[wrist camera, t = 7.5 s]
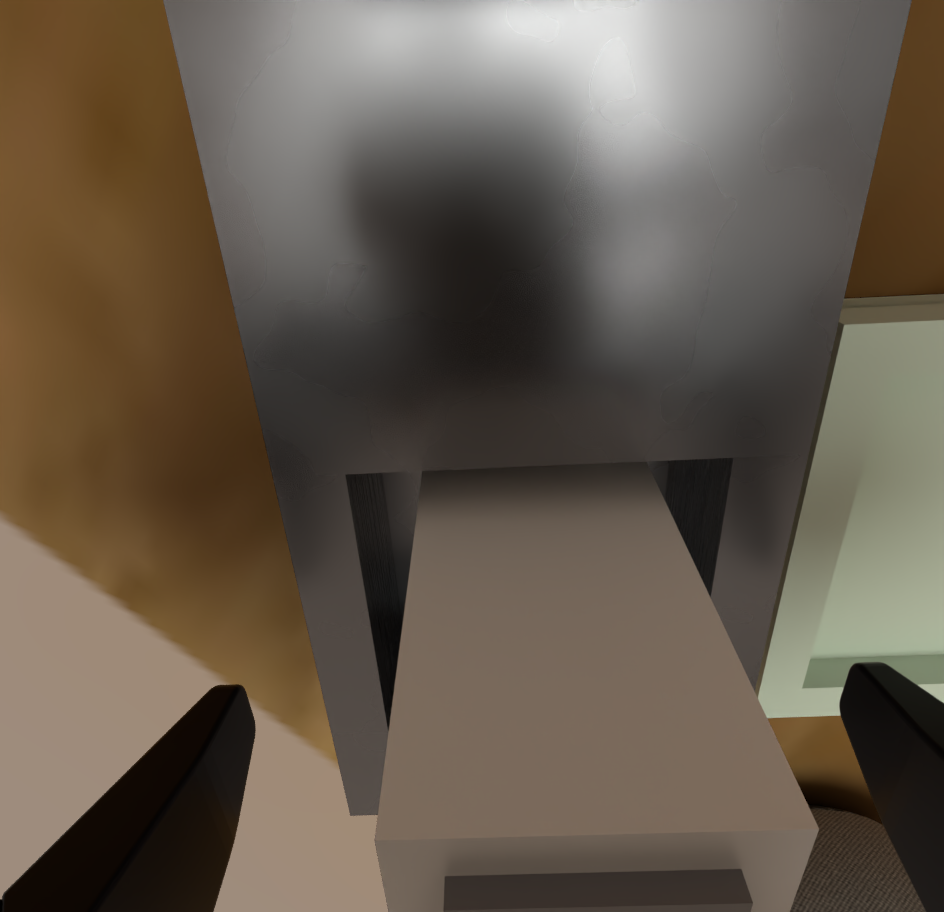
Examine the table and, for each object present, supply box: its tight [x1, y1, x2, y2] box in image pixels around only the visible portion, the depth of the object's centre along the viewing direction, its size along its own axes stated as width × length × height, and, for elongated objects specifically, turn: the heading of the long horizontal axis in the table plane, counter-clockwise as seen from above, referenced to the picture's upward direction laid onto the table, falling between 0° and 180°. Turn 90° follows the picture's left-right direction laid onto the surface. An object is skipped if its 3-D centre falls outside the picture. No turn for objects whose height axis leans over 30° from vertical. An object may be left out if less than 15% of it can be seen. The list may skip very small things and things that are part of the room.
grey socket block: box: [163, 0, 912, 816], centre depth 9 cm, size 20×8×7 cm, turn 3°
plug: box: [375, 462, 819, 912], centre depth 10 cm, size 4×4×8 cm
